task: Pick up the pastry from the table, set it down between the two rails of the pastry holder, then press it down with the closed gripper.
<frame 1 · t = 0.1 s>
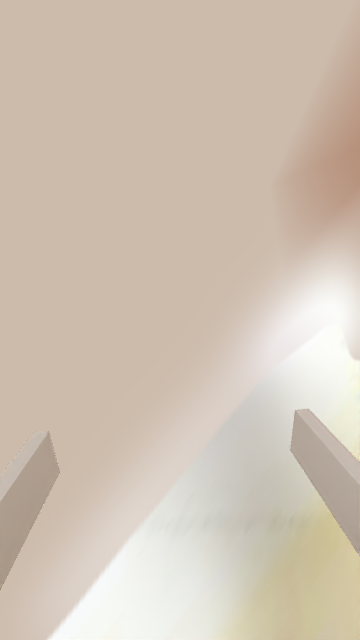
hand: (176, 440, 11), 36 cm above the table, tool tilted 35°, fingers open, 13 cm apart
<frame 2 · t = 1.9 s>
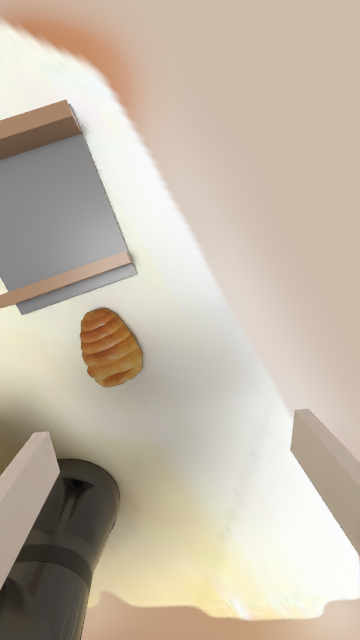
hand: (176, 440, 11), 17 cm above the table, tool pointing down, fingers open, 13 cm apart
pastry: (112, 347, 28), on the table
pastry holder: (46, 219, 23), on the table
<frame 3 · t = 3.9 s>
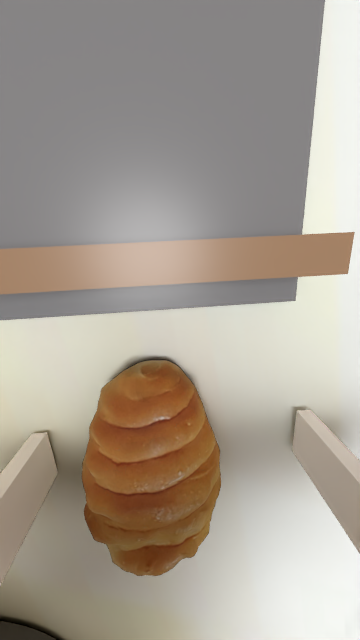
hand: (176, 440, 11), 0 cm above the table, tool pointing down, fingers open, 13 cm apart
pastry: (151, 439, 12), on the table
pastry holder: (110, 64, 7), on the table
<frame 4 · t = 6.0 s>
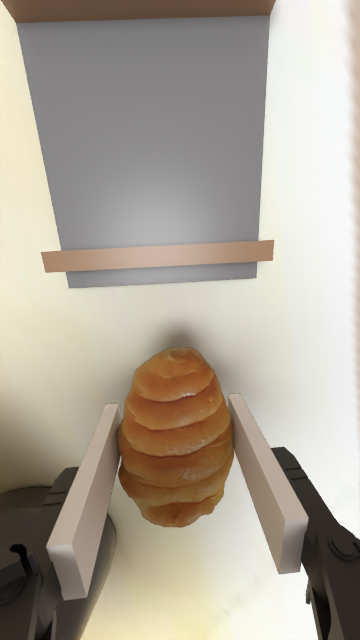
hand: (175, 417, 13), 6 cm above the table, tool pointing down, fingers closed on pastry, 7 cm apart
pastry: (172, 417, 14), point 5 cm above the table, touching gripper
pastry holder: (154, 152, 14), on the table
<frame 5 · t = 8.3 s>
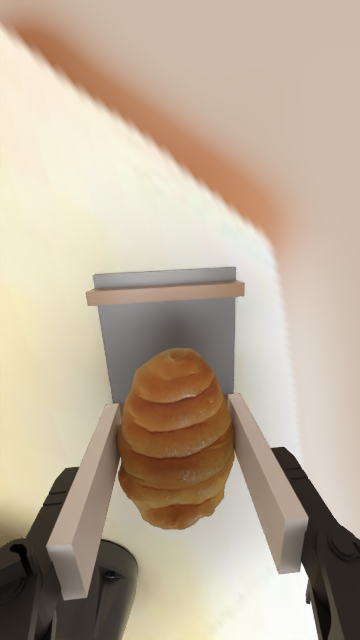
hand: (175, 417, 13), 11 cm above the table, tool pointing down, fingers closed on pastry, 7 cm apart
pastry: (172, 419, 14), point 10 cm above the table, touching gripper
pastry holder: (170, 348, 23), on the table
when the fingers open (1 cm above the table, at t = 10.7 s): pastry stays where it is, resting on pastry holder.
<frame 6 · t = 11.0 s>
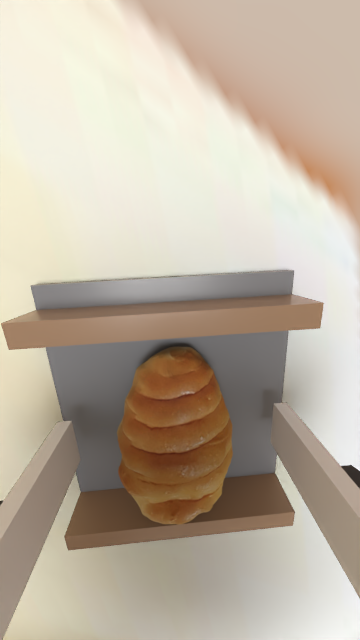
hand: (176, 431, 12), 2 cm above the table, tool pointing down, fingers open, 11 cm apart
pastry: (172, 416, 14), resting on pastry holder
pastry holder: (174, 406, 14), on the table
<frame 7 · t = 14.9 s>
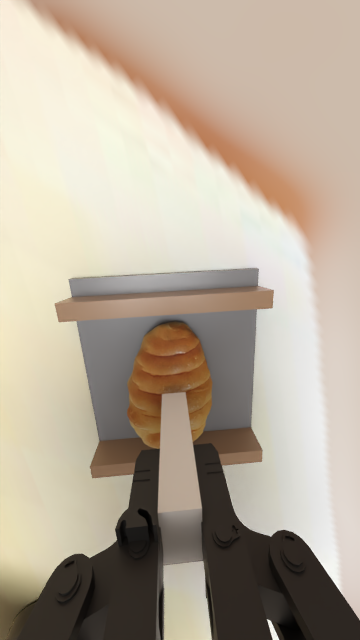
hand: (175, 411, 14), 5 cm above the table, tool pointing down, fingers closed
pastry: (167, 378, 18), resting on pastry holder
pastry holder: (172, 372, 18), on the table
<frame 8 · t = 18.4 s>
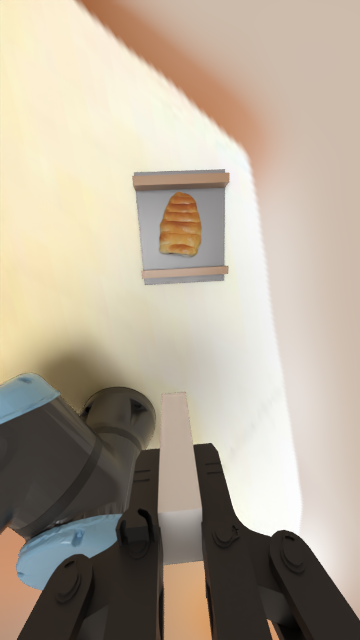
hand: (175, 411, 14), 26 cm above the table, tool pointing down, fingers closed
pastry: (178, 231, 35), resting on pastry holder
pastry holder: (182, 231, 35), on the table
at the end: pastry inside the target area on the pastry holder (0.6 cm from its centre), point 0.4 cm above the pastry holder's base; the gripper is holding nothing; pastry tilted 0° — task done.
